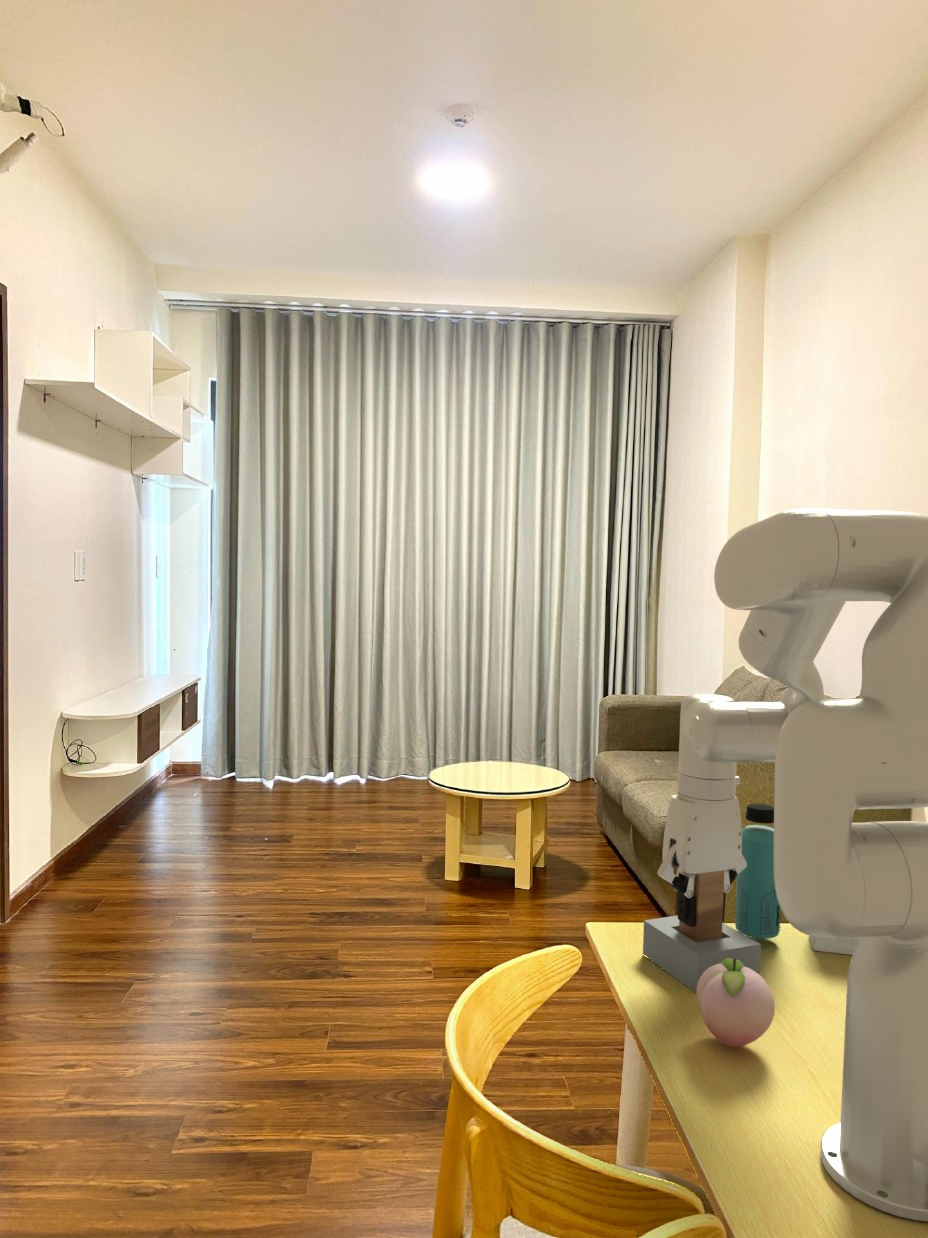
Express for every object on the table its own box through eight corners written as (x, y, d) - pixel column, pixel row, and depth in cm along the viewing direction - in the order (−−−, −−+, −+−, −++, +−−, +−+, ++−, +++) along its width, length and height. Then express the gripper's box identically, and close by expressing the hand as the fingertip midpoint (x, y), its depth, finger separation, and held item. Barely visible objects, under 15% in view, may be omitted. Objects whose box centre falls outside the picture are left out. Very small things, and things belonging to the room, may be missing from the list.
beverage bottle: (783, 951, 128) (789, 812, 127) (734, 946, 130) (740, 809, 129) (776, 934, 135) (782, 801, 134) (730, 929, 136) (735, 798, 135)
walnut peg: (721, 951, 121) (724, 862, 120) (696, 955, 119) (700, 866, 119) (702, 939, 125) (705, 853, 124) (678, 943, 123) (681, 856, 122)
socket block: (759, 981, 118) (760, 944, 118) (696, 993, 115) (698, 955, 114) (701, 946, 129) (702, 911, 129) (642, 955, 126) (644, 920, 125)
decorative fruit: (781, 1071, 97) (785, 980, 96) (703, 1065, 98) (707, 975, 97) (761, 1027, 106) (765, 944, 106) (690, 1022, 107) (693, 940, 106)
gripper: (737, 776, 127) (732, 904, 128) (637, 785, 121) (632, 918, 122) (775, 789, 121) (769, 923, 122) (671, 798, 114) (665, 940, 115)
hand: (700, 919), depth 122 cm, fingers closed on walnut peg, 4 cm apart
